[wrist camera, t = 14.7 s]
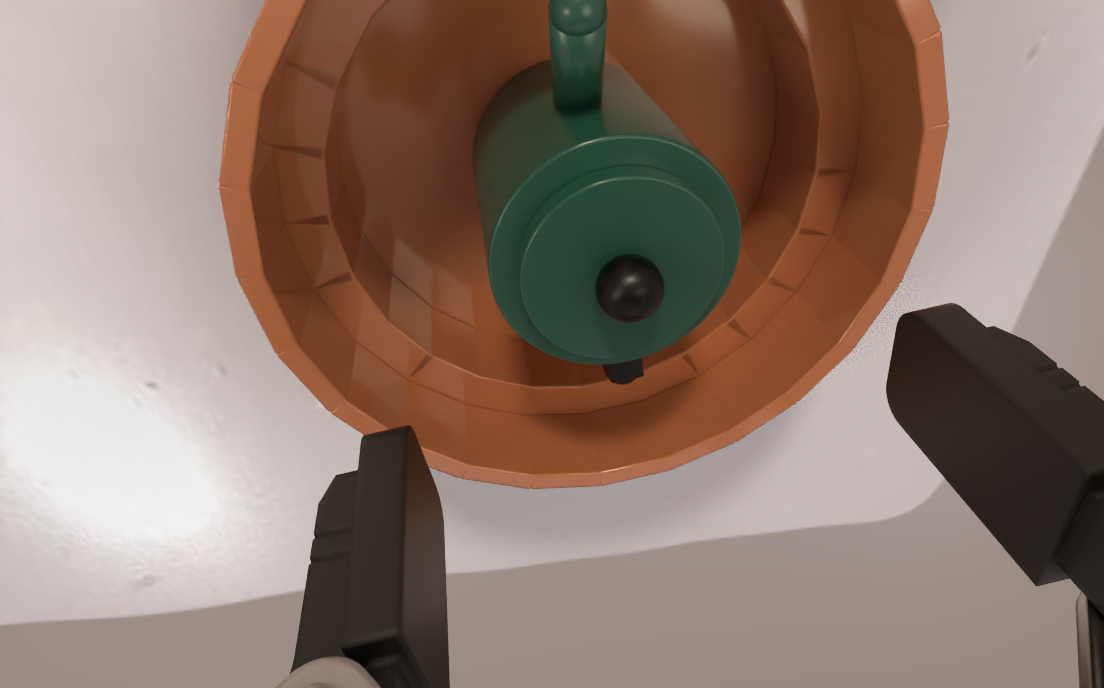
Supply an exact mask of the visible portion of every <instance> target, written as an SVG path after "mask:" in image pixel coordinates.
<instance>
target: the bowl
mask: <svg viewBox="0 0 1104 688" xmlns="http://www.w3.org/2000/svg"><path fill="white" fill-rule="evenodd" d="M548 5H549V0H266V1H265V3H264V5H263V8H262V10H261V12H260V15H259V17H258V19H257V21H256V24H255V26H254V28H253V30H252V33H251V35H250V37H249V39H248V42H247V44H246V46H245V49H244V51H243V53H242V55H241V58H240V60H239V62H238V64H237V67H236V69H235V71H234V73H233V76H232V82H231V84H230V88H229V97H228V106H227V115H226V124H225V133H224V142H223V151H222V161H221V170H220V179H219V183H220V186H219V190H220V196H221V201H222V206H223V211H224V216H225V222H226V227H227V232H228V237H229V242H230V248H231V253H232V258H233V263H234V268H235V274H236V277H237V278H238V281H239V283H240V285H241V287H242V289H243V291H244V293H245V295H246V297H247V299H248V301H249V303H250V305H251V307H252V308H253V310H254V312H255V314H256V316H257V318H258V320H259V322H260V324H261V326H262V328H263V330H264V332H265V334H266V336H267V337H268V339H269V341H270V343H271V345H272V347H273V349H274V351H275V353H277V355H278V357H279V358H280V359H281V360H282V361H283V362H284V363H285V364H286V366H287V367H288V368H289V369H290V370H291V371H292V372H293V373H294V374H295V375H296V376H297V377H298V379H299V380H300V381H301V382H302V383H303V384H304V385H305V386H306V387H307V388H308V389H309V390H310V392H311V393H312V394H313V395H314V396H315V397H316V398H317V399H318V400H319V401H320V402H321V403H322V405H323V406H324V407H325V408H326V409H327V410H328V411H331V413H332V414H333V415H334V416H336V417H337V418H339V419H340V420H342V421H344V422H345V423H347V424H348V425H350V426H351V427H353V428H354V429H356V430H357V431H359V432H360V433H362V434H363V435H367V434H371V433H375V432H380V431H384V430H389V429H393V428H397V427H402V426H406V425H410V426H412V428H413V430H414V432H415V434H416V436H417V439H418V442H419V444H420V447H421V449H422V452H423V454H424V457H425V459H426V462H427V465H428V467H430V468H433V469H436V470H439V471H441V472H444V473H447V474H449V475H452V476H455V477H458V478H460V477H461V478H462V479H467V480H473V481H480V482H487V483H494V484H500V485H507V486H514V487H521V488H527V489H529V488H532V489H541V488H564V487H587V486H600V484H601V486H604V485H608V484H612V483H617V482H621V481H625V480H630V479H634V478H638V477H643V476H647V475H652V474H656V473H660V472H665V471H668V470H669V469H670V470H671V469H674V468H676V467H679V466H681V465H683V464H686V463H688V462H690V461H693V460H695V459H697V458H700V457H702V456H705V455H707V454H709V453H712V452H714V451H716V450H719V449H721V448H723V447H726V446H728V445H730V444H733V443H735V441H739V440H740V439H742V438H743V437H745V436H746V435H748V434H749V433H751V432H753V431H754V430H756V429H757V428H759V427H760V426H762V425H763V424H765V423H766V422H768V421H769V420H771V419H773V418H774V417H776V416H777V415H779V414H780V413H782V412H783V411H785V410H786V409H788V408H789V407H791V406H793V405H794V404H796V403H797V401H800V400H801V399H802V398H803V397H804V396H805V395H806V394H807V393H808V392H809V391H810V390H811V389H812V388H813V387H814V386H815V385H817V384H818V383H819V382H820V381H821V380H822V379H823V378H824V377H825V376H826V375H827V374H828V373H829V372H830V371H831V370H832V369H833V368H835V367H836V366H837V365H838V364H839V363H840V362H841V361H842V360H843V359H844V358H845V357H846V356H847V355H848V354H849V353H850V352H851V351H852V350H853V349H852V348H855V347H856V345H857V344H858V342H859V341H860V340H861V338H862V337H863V335H864V334H865V333H866V331H867V330H868V328H869V327H870V326H871V324H872V323H873V321H874V320H875V319H876V317H877V316H878V315H879V313H880V312H881V310H882V309H883V308H884V306H885V305H886V303H887V302H888V301H889V299H890V298H891V296H892V295H893V294H894V292H895V291H896V289H897V288H898V287H899V284H900V283H901V281H902V279H903V277H904V274H905V272H906V270H907V268H908V265H909V263H910V261H911V258H912V256H913V254H914V252H915V249H916V247H917V245H918V242H919V240H920V238H921V236H922V233H923V231H924V229H925V227H926V224H927V222H928V220H929V217H930V215H931V213H932V210H933V209H932V208H933V207H934V203H935V198H936V192H937V187H938V181H939V176H940V170H941V165H942V159H943V154H944V148H945V143H946V137H947V132H948V126H949V123H948V122H947V121H948V120H949V114H948V103H947V91H946V79H945V68H944V56H943V44H942V33H941V31H940V30H939V29H940V25H939V23H938V20H937V18H936V15H935V13H934V10H933V8H932V5H931V3H930V1H929V0H607V8H608V13H607V28H606V44H605V60H604V62H606V63H608V64H610V65H612V66H615V67H617V68H618V69H620V70H622V71H623V72H625V73H626V74H628V75H629V76H630V77H631V78H632V79H633V80H635V81H636V82H637V83H638V84H639V85H640V86H641V87H642V89H643V90H644V91H645V92H646V93H647V94H648V95H649V96H650V97H651V98H652V99H653V100H654V101H655V102H656V104H657V105H658V106H659V107H660V108H661V109H662V110H663V111H664V112H665V113H666V114H667V115H668V116H669V118H670V119H671V120H672V121H673V122H674V123H675V124H676V125H677V126H678V127H679V128H680V129H681V130H682V131H683V133H684V134H685V135H686V136H687V137H688V138H689V139H690V140H691V141H692V142H693V143H694V144H695V145H696V147H697V148H698V149H699V150H700V151H701V152H702V153H703V154H704V155H705V156H706V157H707V158H708V159H709V160H710V162H711V163H712V164H713V165H714V166H715V167H716V168H717V170H718V171H719V172H720V173H721V174H722V175H723V177H724V178H725V180H726V182H727V183H728V185H729V187H730V188H731V190H732V192H733V195H734V197H735V200H736V202H737V206H738V210H739V215H740V221H741V247H740V253H739V258H738V263H737V266H736V269H735V272H734V275H733V278H732V280H731V282H730V284H729V286H728V288H727V290H726V292H725V293H724V295H723V296H722V298H721V300H720V301H719V303H718V304H717V305H716V307H715V308H714V309H713V310H712V311H711V313H710V314H709V315H708V316H707V317H706V318H705V319H704V320H703V321H702V322H701V323H700V324H699V325H698V326H697V327H696V328H695V329H693V330H692V331H691V332H690V333H688V334H687V335H686V336H685V337H683V338H682V339H680V340H678V341H677V342H675V343H674V344H672V345H670V346H668V347H666V348H665V349H663V350H661V351H659V352H656V353H654V354H651V355H649V356H646V357H643V358H642V361H643V369H644V376H643V377H639V378H636V379H635V380H634V381H633V382H631V383H629V384H625V385H619V384H616V383H611V382H610V379H609V378H608V377H607V376H606V374H605V372H604V369H603V366H602V365H595V364H582V363H575V362H570V361H566V360H563V359H559V358H556V357H554V356H551V355H549V354H547V353H544V352H543V351H541V350H539V349H537V348H536V347H534V346H532V345H531V344H530V343H528V342H527V341H526V340H524V339H523V338H522V337H520V336H519V334H518V333H517V332H516V331H515V330H514V329H513V328H512V327H511V326H510V325H509V324H508V322H507V321H506V319H505V318H504V317H503V315H502V314H501V312H500V310H499V308H498V306H497V304H496V302H495V299H494V296H493V293H492V290H491V286H490V280H489V275H488V268H487V261H486V254H485V247H484V240H483V233H482V226H481V219H480V212H479V205H478V198H477V191H476V184H475V177H474V170H473V155H472V154H473V143H474V138H475V134H476V129H477V127H478V124H479V121H480V119H481V116H482V114H483V113H484V111H485V109H486V107H487V105H488V104H489V102H490V101H491V100H492V98H493V97H494V95H495V94H496V93H497V92H498V91H499V90H500V89H501V88H502V87H503V86H504V84H506V83H507V82H508V81H509V80H510V79H512V78H513V77H514V76H515V75H517V74H519V73H520V72H522V71H524V70H525V69H527V68H529V67H531V66H533V65H536V64H538V63H540V62H544V61H547V60H551V57H550V40H549V22H548Z"/></svg>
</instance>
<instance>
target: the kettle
mask: <svg viewBox="0 0 1104 688" xmlns="http://www.w3.org/2000/svg"><path fill="white" fill-rule="evenodd" d="M607 13H608V8H607V0H549V5H548V22H549V40H550V57H551V60H547V61H544V62H540V63H538V64H536V65H533V66H531V67H529V68H527V69H525V70H524V71H522V72H520V73H519V74H517V75H515V76H514V77H513V78H512V79H510V80H509V81H508V82H507V83H506V84H504V86H503V87H502V88H501V89H500V90H499V91H498V92H497V93H496V94H495V95H494V97H493V98H492V100H491V101H490V102H489V104H488V105H487V107H486V109H485V111H484V113H483V114H482V116H481V119H480V121H479V124H478V127H477V129H476V134H475V138H474V143H473V154H472V155H473V170H474V177H475V184H476V191H477V198H478V205H479V212H480V219H481V226H482V233H483V240H484V247H485V254H486V261H487V268H488V275H489V280H490V286H491V290H492V293H493V296H494V299H495V302H496V304H497V306H498V308H499V310H500V312H501V314H502V315H503V317H504V318H505V319H506V321H507V322H508V324H509V325H510V326H511V327H512V328H513V329H514V330H515V331H516V332H517V333H518V334H519V336H520V337H522V338H523V339H524V340H526V341H527V342H528V343H530V344H531V345H532V346H534V347H536V348H537V349H539V350H541V351H543V352H544V353H547V354H549V355H551V356H554V357H556V358H559V359H563V360H566V361H570V362H575V363H582V364H595V365H602V366H603V369H604V372H605V374H606V376H607V377H608V378H609V379H610V382H611V383H616V384H619V385H625V384H629V383H631V382H633V381H634V380H635V379H636V378H639V377H643V376H644V369H643V361H642V358H643V357H646V356H649V355H651V354H654V353H656V352H659V351H661V350H663V349H665V348H666V347H668V346H670V345H672V344H674V343H675V342H677V341H678V340H680V339H682V338H683V337H685V336H686V335H687V334H688V333H690V332H691V331H692V330H693V329H695V328H696V327H697V326H698V325H699V324H700V323H701V322H702V321H703V320H704V319H705V318H706V317H707V316H708V315H709V314H710V313H711V311H712V310H713V309H714V308H715V307H716V305H717V304H718V303H719V301H720V300H721V298H722V296H723V295H724V293H725V292H726V290H727V288H728V286H729V284H730V282H731V280H732V278H733V275H734V272H735V269H736V266H737V263H738V258H739V253H740V247H741V221H740V215H739V210H738V206H737V202H736V200H735V197H734V195H733V192H732V190H731V188H730V187H729V185H728V183H727V182H726V180H725V178H724V177H723V175H722V174H721V173H720V172H719V171H718V170H717V168H716V167H715V166H714V165H713V164H712V163H711V162H710V160H709V159H708V158H707V157H706V156H705V155H704V154H703V153H702V152H701V151H700V150H699V149H698V148H697V147H696V145H695V144H694V143H693V142H692V141H691V140H690V139H689V138H688V137H687V136H686V135H685V134H684V133H683V131H682V130H681V129H680V128H679V127H678V126H677V125H676V124H675V123H674V122H673V121H672V120H671V119H670V118H669V116H668V115H667V114H666V113H665V112H664V111H663V110H662V109H661V108H660V107H659V106H658V105H657V104H656V102H655V101H654V100H653V99H652V98H651V97H650V96H649V95H648V94H647V93H646V92H645V91H644V90H643V89H642V87H641V86H640V85H639V84H638V83H637V82H636V81H635V80H633V79H632V78H631V77H630V76H629V75H628V74H626V73H625V72H623V71H622V70H620V69H618V68H617V67H615V66H612V65H610V64H608V63H606V62H604V60H605V44H606V28H607Z"/></svg>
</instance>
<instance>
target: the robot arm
mask: <svg viewBox="0 0 1104 688" xmlns="http://www.w3.org/2000/svg"><path fill="white" fill-rule="evenodd" d="M886 393H887V399H888V403H889V406H890V409H891V411H892V413H893V415H894V417H895V419H896V420H897V422H898V423H899V424H900V425H901V427H902V428H903V429H904V430H905V431H906V433H907V434H908V435H909V436H910V437H911V439H912V440H913V441H914V442H915V443H916V444H917V446H918V447H919V448H920V449H921V450H922V452H923V453H924V454H925V455H926V456H927V457H928V459H929V460H930V461H931V462H932V463H933V465H934V466H935V467H936V468H937V469H938V470H939V472H940V473H941V474H942V475H943V476H944V478H945V479H946V480H947V481H948V482H949V484H950V485H951V486H952V487H953V488H954V489H955V490H956V492H957V493H958V494H959V495H960V497H961V498H962V499H963V500H964V501H965V502H966V504H967V505H968V506H969V507H970V508H971V510H972V511H973V512H974V513H975V514H976V515H977V517H978V518H979V519H980V520H981V521H982V523H983V524H984V525H985V526H986V527H987V529H988V530H989V531H990V532H991V533H992V534H993V536H994V537H995V538H996V539H997V540H998V542H999V543H1000V544H1001V545H1002V546H1003V548H1004V549H1005V550H1006V551H1007V552H1008V553H1009V555H1010V556H1011V557H1012V558H1013V559H1014V561H1015V562H1016V563H1017V564H1018V565H1019V566H1020V568H1021V569H1022V570H1023V571H1024V572H1025V574H1026V575H1027V576H1028V577H1029V578H1030V579H1031V581H1032V582H1033V583H1034V584H1035V585H1036V586H1040V585H1044V584H1048V583H1052V582H1056V581H1061V580H1064V579H1069V578H1070V579H1071V580H1072V581H1073V582H1074V584H1075V585H1076V586H1077V587H1078V588H1079V589H1080V590H1081V592H1080V594H1079V596H1078V599H1077V601H1076V621H1077V622H1076V624H1077V646H1078V667H1079V688H1104V401H1103V400H1102V399H1101V398H1099V397H1098V396H1097V395H1096V394H1094V393H1093V392H1092V391H1091V390H1089V389H1088V388H1087V387H1086V386H1082V387H1081V386H1080V385H1079V381H1078V380H1077V379H1076V378H1074V377H1073V376H1072V375H1070V374H1069V373H1068V372H1067V371H1065V370H1064V369H1063V368H1058V367H1057V364H1056V363H1055V362H1054V361H1053V360H1052V359H1050V358H1049V357H1048V356H1046V355H1045V354H1044V353H1043V352H1041V351H1040V350H1039V349H1038V348H1037V347H1035V346H1034V345H1033V344H1032V343H1030V342H1029V341H1026V340H1024V339H1022V338H1020V337H1017V336H1015V335H1013V334H1010V333H1008V332H1006V331H1004V330H1001V329H999V328H997V327H995V326H992V327H987V328H986V327H985V326H984V325H983V324H982V323H980V322H979V321H978V320H977V319H976V318H974V317H973V316H972V315H971V314H970V313H968V312H967V311H966V310H965V309H964V308H962V307H961V306H959V305H957V304H954V303H948V304H944V305H940V306H935V307H931V308H926V309H922V310H918V311H913V312H909V313H905V314H903V315H902V316H901V317H900V318H899V320H898V323H897V327H896V333H895V338H894V344H893V350H892V356H891V361H890V367H889V373H888V379H887V385H886ZM314 535H315V539H314V540H313V542H312V549H311V555H310V560H311V564H310V565H309V568H308V574H307V581H306V587H305V593H304V600H303V606H302V612H301V619H300V625H299V631H298V638H297V644H296V651H295V657H294V661H293V666H292V669H291V672H290V674H289V675H288V676H287V677H286V678H285V679H284V680H283V681H282V682H281V683H280V684H279V685H278V686H277V687H276V688H450V681H449V653H448V624H447V595H446V567H445V538H444V520H443V512H442V507H441V502H440V498H439V494H438V491H437V488H436V485H435V482H434V480H433V477H432V475H431V472H430V470H429V467H428V465H427V462H426V459H425V457H424V454H423V452H422V449H421V447H420V444H419V442H418V439H417V436H416V434H415V432H414V430H413V428H412V426H410V425H406V426H402V427H397V428H393V429H389V430H384V431H380V432H375V433H371V434H367V435H364V436H363V437H362V440H361V446H360V456H359V466H358V470H357V471H352V472H348V473H344V474H339V475H336V476H335V478H334V479H333V481H332V483H331V484H330V486H329V488H328V489H327V491H326V493H325V494H324V496H323V497H322V499H321V501H320V502H319V504H318V511H317V517H316V523H315V530H314Z"/></svg>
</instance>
